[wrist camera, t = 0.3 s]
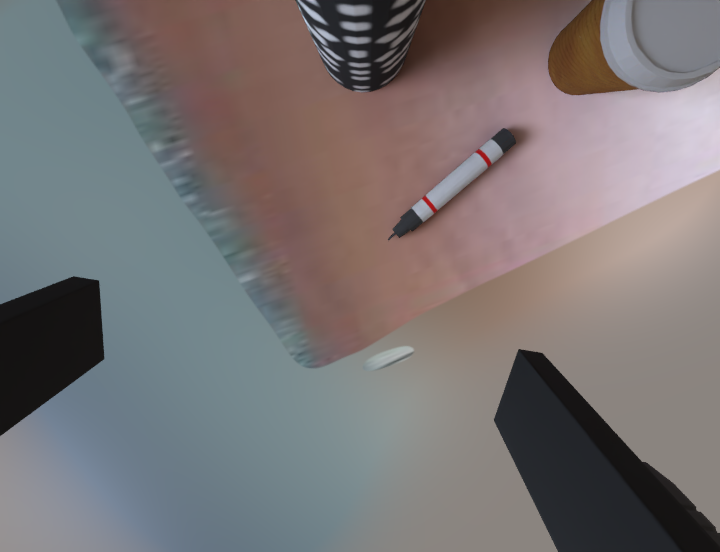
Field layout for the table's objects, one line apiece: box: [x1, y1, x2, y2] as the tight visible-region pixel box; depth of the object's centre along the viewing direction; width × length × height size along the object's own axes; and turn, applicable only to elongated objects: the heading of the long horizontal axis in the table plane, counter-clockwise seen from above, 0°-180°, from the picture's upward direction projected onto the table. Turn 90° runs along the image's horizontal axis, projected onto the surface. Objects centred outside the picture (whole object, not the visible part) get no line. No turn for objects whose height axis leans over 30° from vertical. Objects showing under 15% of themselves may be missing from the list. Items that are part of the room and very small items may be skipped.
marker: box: [388, 128, 516, 240], centre depth 35 cm, size 15×2×2 cm, turn 132°
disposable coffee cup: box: [548, 0, 720, 95], centre depth 27 cm, size 10×10×12 cm
